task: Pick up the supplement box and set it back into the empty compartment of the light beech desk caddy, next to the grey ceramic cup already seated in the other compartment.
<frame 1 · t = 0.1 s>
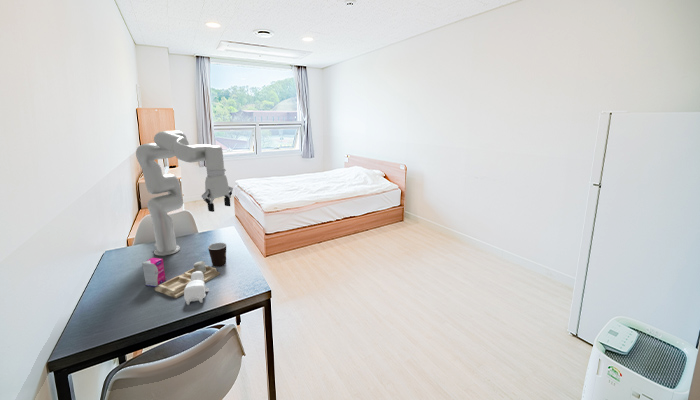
hand: (219, 208, 150), 31 cm above the table, fingers open, 9 cm apart
white figurine: (197, 296, 135), on the table
supplement box: (156, 284, 144), on the table
beech caddy: (188, 281, 145), on the table
coffee mug: (221, 263, 164), on the table
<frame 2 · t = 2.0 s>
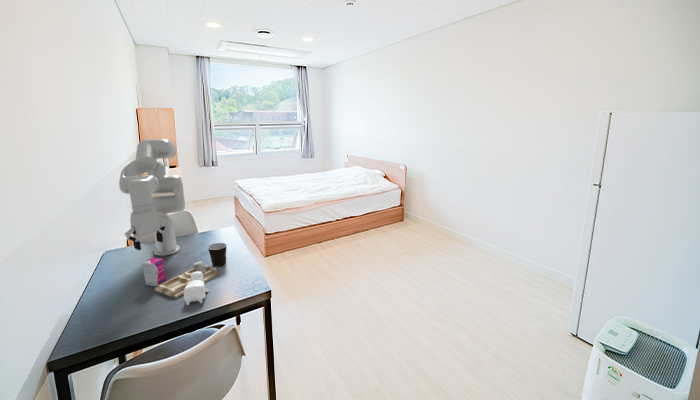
hand: (149, 245, 139), 19 cm above the table, fingers open, 9 cm apart
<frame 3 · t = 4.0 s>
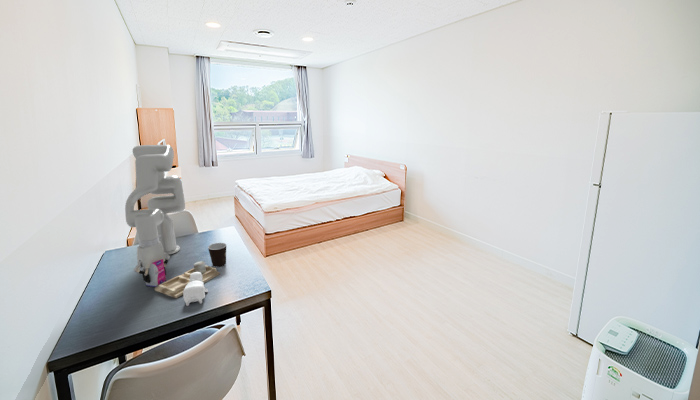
hand: (155, 278, 143), 3 cm above the table, fingers closed on supplement box, 6 cm apart
supplement box: (156, 283, 144), on the table, touching gripper
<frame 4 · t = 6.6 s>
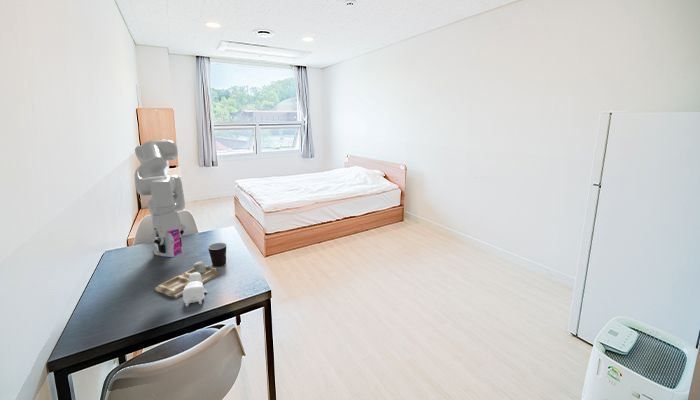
hand: (170, 249, 135), 19 cm above the table, fingers closed on supplement box, 6 cm apart
supplement box: (171, 255, 136), point 16 cm above the table, touching gripper
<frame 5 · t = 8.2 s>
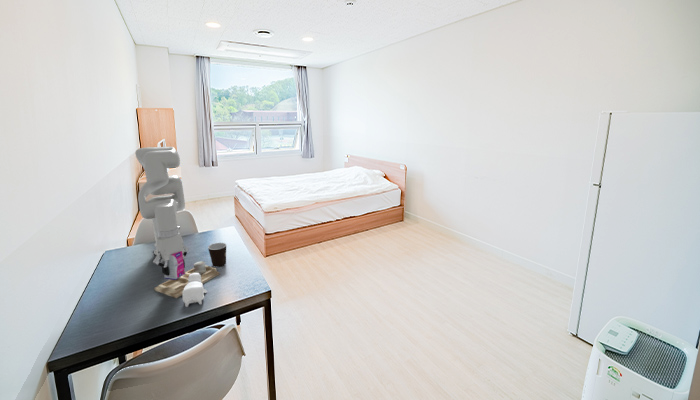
hand: (174, 270, 138), 9 cm above the table, fingers closed on supplement box, 6 cm apart
supplement box: (175, 276, 139), point 6 cm above the table, touching gripper
when the fingers open (4 cm above the table, at t = 9.6 s): supplement box stays where it is, resting on beech caddy.
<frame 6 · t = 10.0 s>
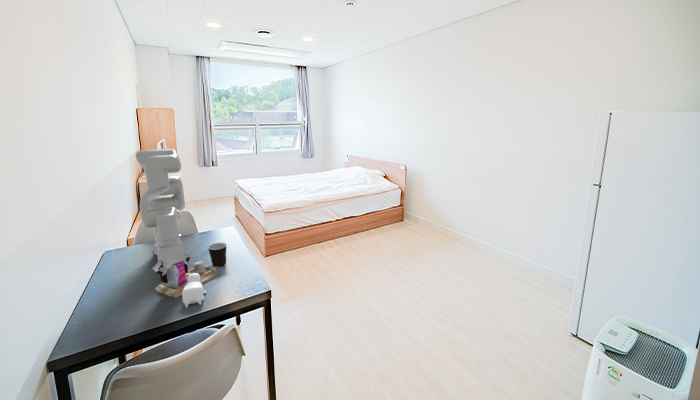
hand: (175, 277, 139), 5 cm above the table, fingers open, 9 cm apart
supplement box: (176, 285, 140), point 1 cm above the table, touching beech caddy
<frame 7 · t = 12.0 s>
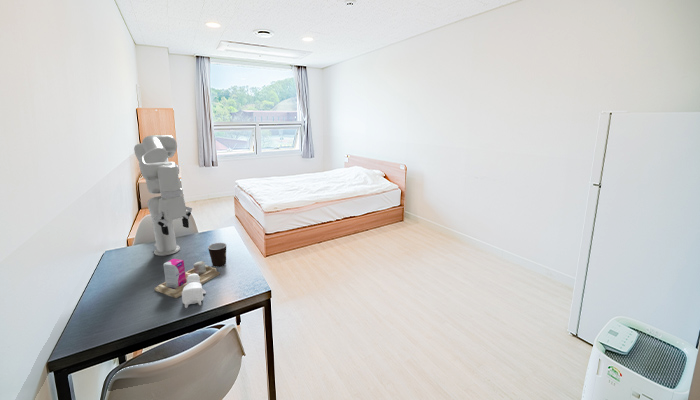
hand: (176, 230, 141), 24 cm above the table, fingers open, 9 cm apart
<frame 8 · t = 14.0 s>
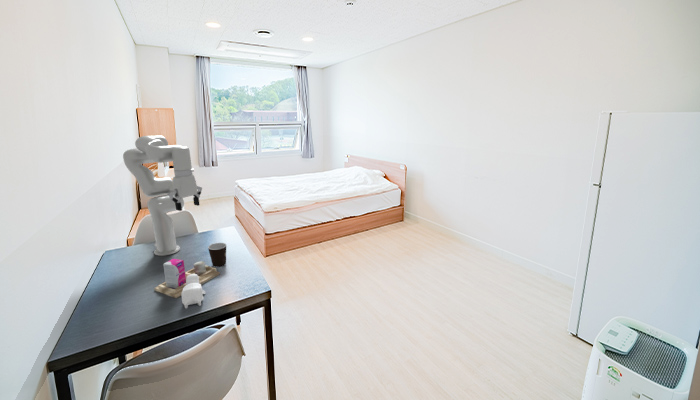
hand: (188, 207, 154), 30 cm above the table, fingers open, 9 cm apart
at the end: supplement box inside the target area (0.3 cm from its centre), point 1.0 cm above the table; supplement box tilted 0°; the gripper is holding nothing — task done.
